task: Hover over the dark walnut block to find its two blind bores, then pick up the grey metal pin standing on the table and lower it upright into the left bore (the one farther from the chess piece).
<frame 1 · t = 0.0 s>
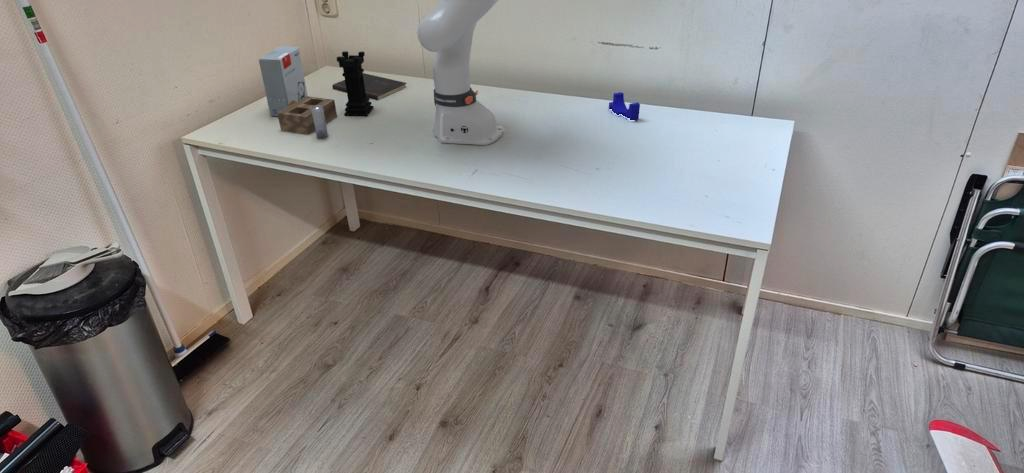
pin: (322, 136, 209), on the table
hardcover book: (370, 90, 247), on the table
hard drive box: (290, 109, 230), on the table
bore block: (309, 123, 219), on the table
chess piece: (359, 112, 227), on the table
cable clip: (623, 116, 220), on the table
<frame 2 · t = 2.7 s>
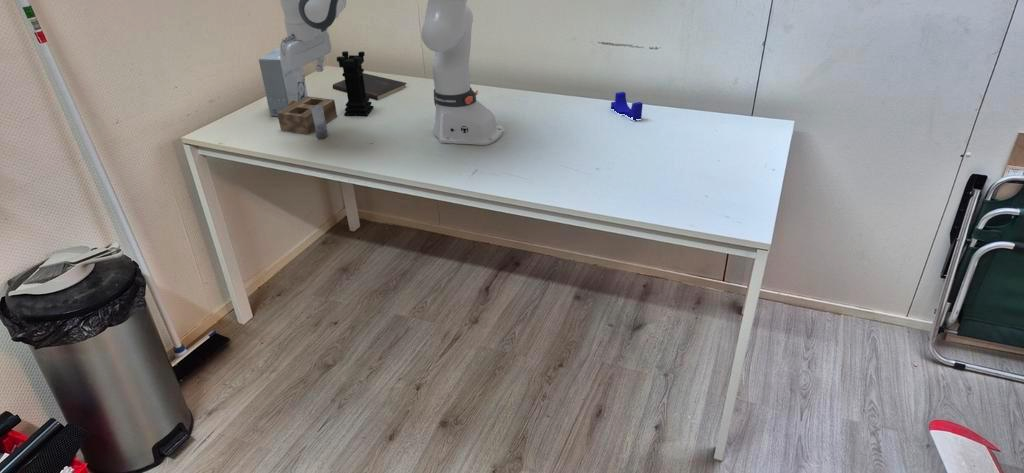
hand: (310, 76, 200), 19 cm above the table, fingers open, 8 cm apart
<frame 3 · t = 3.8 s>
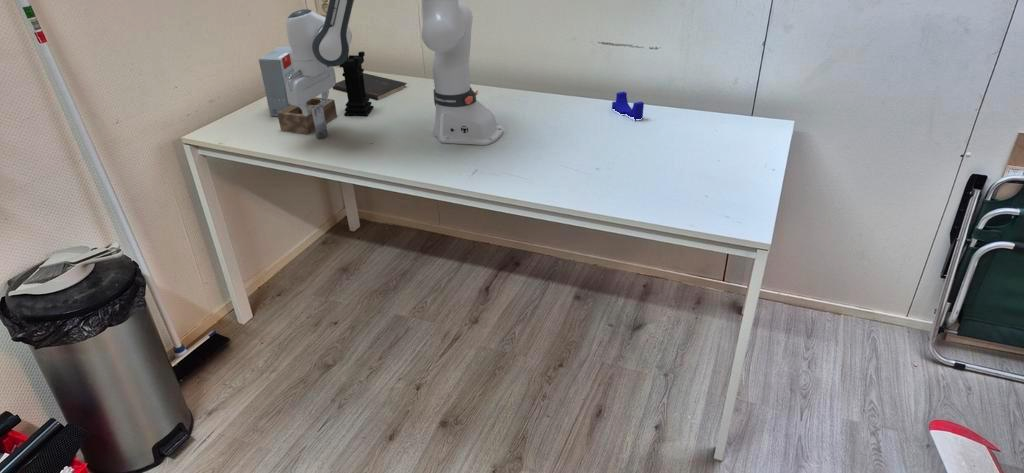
hand: (315, 109, 205), 9 cm above the table, fingers open, 8 cm apart
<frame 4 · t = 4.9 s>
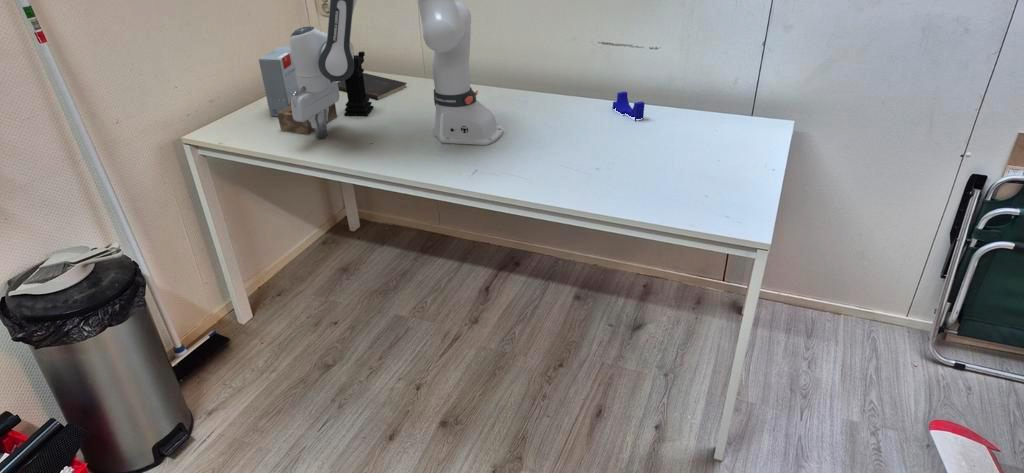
hand: (320, 124, 207), 4 cm above the table, fingers closed on pin, 4 cm apart
pin: (322, 136, 209), on the table, touching gripper
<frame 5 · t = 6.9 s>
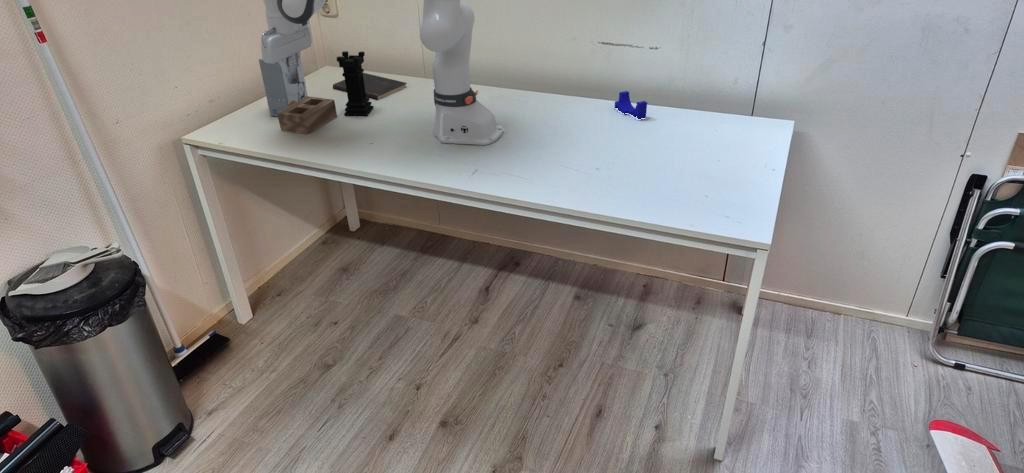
hand: (291, 69, 204), 20 cm above the table, fingers closed on pin, 4 cm apart
pin: (293, 82, 206), point 16 cm above the table, touching gripper
when the fingers open (7 cm above the table, at t = 9.1 s): pin stays where it is, resting on bore block.
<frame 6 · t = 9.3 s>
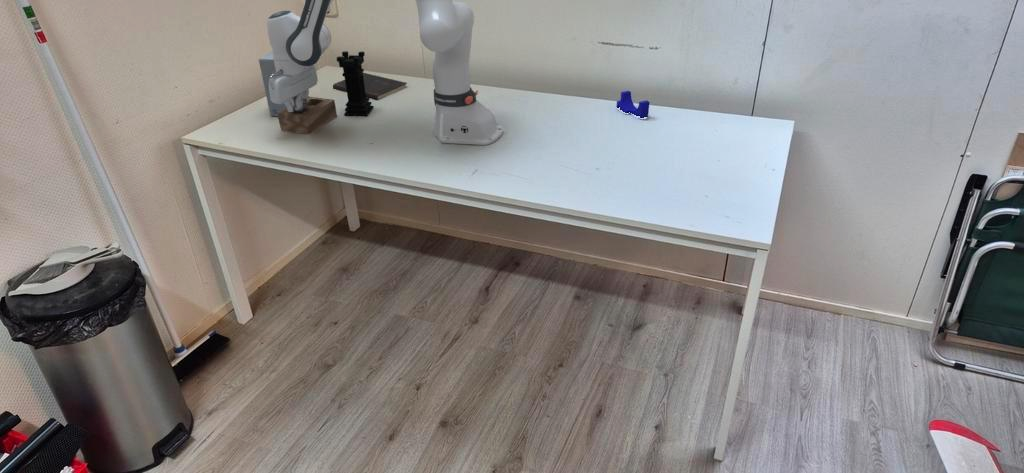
hand: (298, 107, 212), 7 cm above the table, fingers open, 6 cm apart
pin: (301, 121, 215), point 2 cm above the table, touching bore block
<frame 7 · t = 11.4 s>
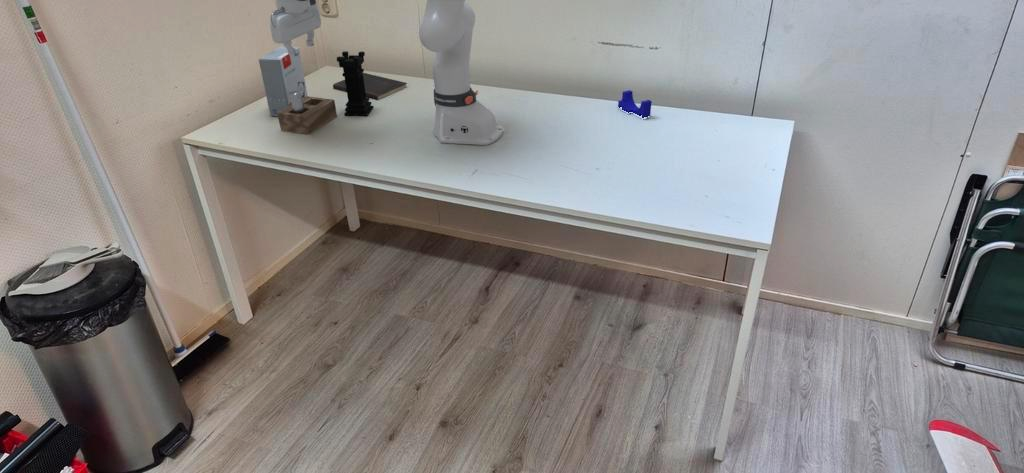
hand: (301, 50, 203), 25 cm above the table, fingers open, 8 cm apart
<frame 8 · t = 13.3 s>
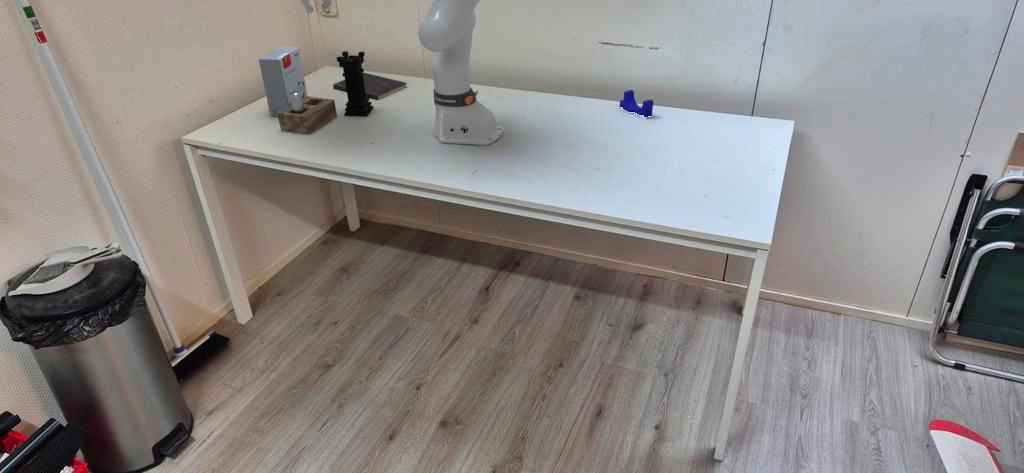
hand: (319, 8, 198), 37 cm above the table, fingers open, 8 cm apart
at the end: pin 0.0 cm from the target spot on the bore block, point 2.0 cm above the bore block's base; pin tilted 0°; the gripper is holding nothing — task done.
